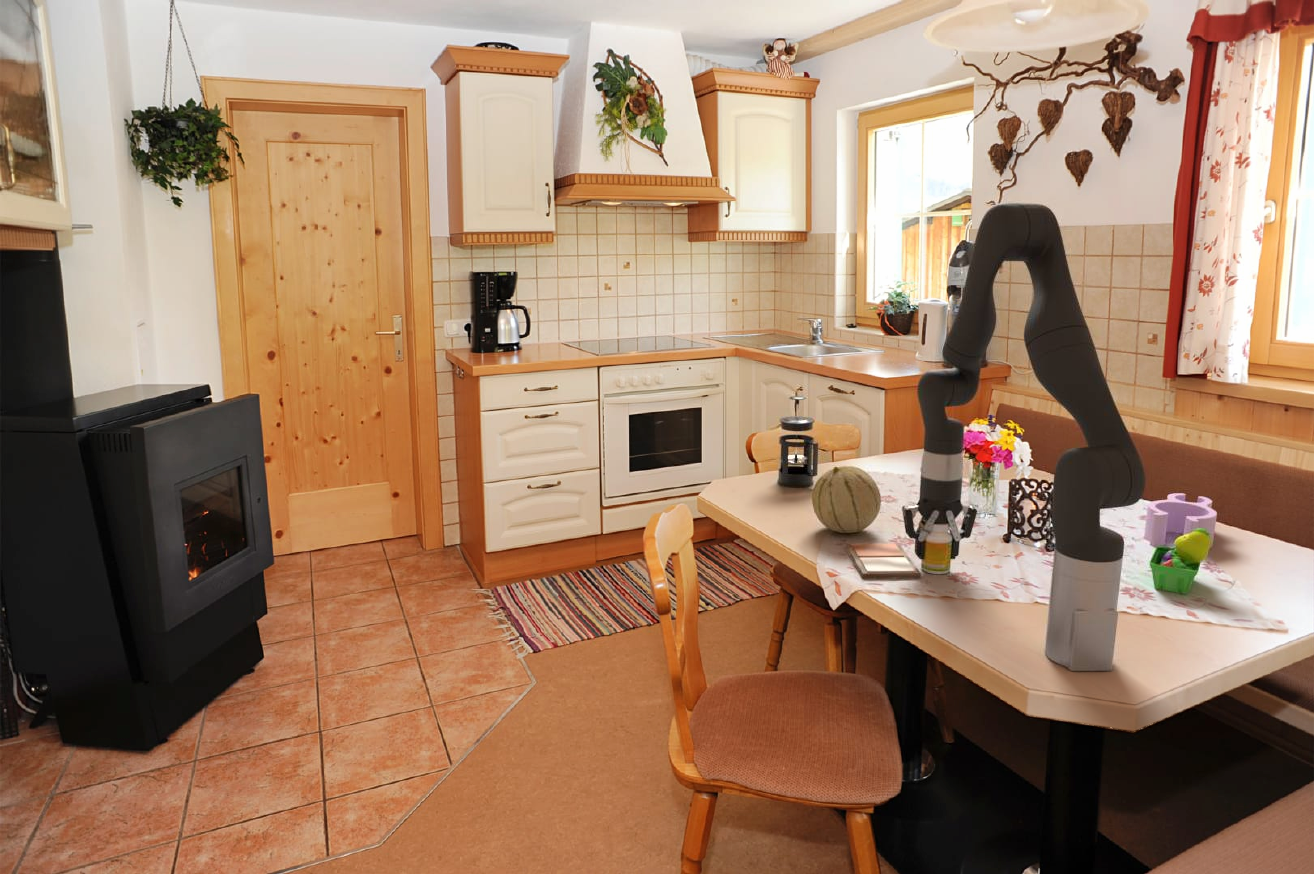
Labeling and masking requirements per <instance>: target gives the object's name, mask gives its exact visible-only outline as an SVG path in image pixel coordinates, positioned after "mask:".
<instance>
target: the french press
mask: <svg viewBox="0 0 1314 874" xmlns="http://www.w3.org/2000/svg"><path fill="white" fill-rule="evenodd" d="M788 399H789V400H793V401H794V400H795V405H796V412H795V413H796V415H794V416H785V417H781V418H780V419H779V422H780V428H781V429H782V430H784V431H788V432H795V434H785V435H781V436H779V438H778V441H779V442H778V443H779V445H780V458H779V460H780V468H779V469H778V476H777V477H778V479H777V484H778V485H780V486H782V487H787V488H796V489H799V488H806V487H811V486H813V485H814V484H815V483H814V477H816V476H818V465H819V464H818V463H819V443H818V441H817V442H816V441H815V437H813V436H810V435H807V434H798V432H807V431H812V430H813V429H814V428H813V425H814V424H813V423H815V419H814V418H811V417H807V416H799V405H800V401H802V400H806V397H805V396H803V395H792V396H789V398H788ZM789 440H795V441H789ZM798 440H800V441H798ZM801 440H802V441H801ZM789 448H795V454H791V455H790V454H789ZM798 448H803V455H800V454H799V455H798Z"/></svg>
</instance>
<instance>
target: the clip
mask: <svg viewBox="0 0 1314 874" xmlns="http://www.w3.org/2000/svg"><path fill="white" fill-rule="evenodd" d="M1166 498H1167V499H1161V500H1153V501H1151V502H1149V503H1147V508H1146V517H1145V524H1144V527H1145V528H1144V532H1143V533H1144V535H1143V536H1144V538H1145V539H1146V540H1148V541H1149V545H1150V547H1151V546H1152V547H1158V546H1161V547H1163V546H1165V545H1166V536H1167V533H1175V534H1176V533H1177V534H1183V535H1186V534H1190V533H1192V532H1193V531H1194V530H1195V529H1198V528H1202V529H1205V530H1207V531H1208V532H1209V533H1210V535H1209V536H1210V538H1211V540H1212V543H1211V545H1210V547H1209V549H1211V548H1212V547H1213V546H1214V539H1215V533H1216V526H1217V525H1216V524H1217V517H1218V516H1217V515H1218V512H1217V511H1216V510H1214V509H1213V508H1212V506H1213V505H1212V504H1213V500H1212V499H1210V498H1208V497H1205V496H1198V497H1197V502H1193V501H1192V502H1191V501H1186V493H1181V492H1180V493H1178V492H1177V493H1170V494H1168V495H1167V497H1166Z"/></svg>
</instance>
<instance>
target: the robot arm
mask: <svg viewBox="0 0 1314 874" xmlns="http://www.w3.org/2000/svg"><path fill="white" fill-rule="evenodd" d="M1004 262H1023V263H1024V264H1025V266H1026V267H1027V270H1028V273H1029V276H1030V280H1031V283H1032V287H1033V289H1032V290H1033V297H1032V301H1031V305H1030V307H1029V310H1028V313H1027V317H1026V320H1025V324H1024V329H1023V341H1024V346H1025V349H1026V352H1027V355H1028V358H1029V362H1030V364H1031V368H1032V371H1033V373H1034V375H1035V377H1036V379H1037V381H1038V382H1039V384H1040V385H1041V386H1042V387H1043V388H1044V389H1045V390H1046V391H1047V392H1048V393H1049V395H1051V397H1053V398H1054V400H1056V401H1057V403H1059V405H1061V407H1063V409H1065V410H1066V411H1067V412H1068V413H1069V414H1070V416H1072V417H1073V419H1074V421H1075V422H1076V423H1077V425H1078V426H1079V428H1080V430H1081V433H1082V434H1083V437H1084V439H1085V441H1086V445H1087V446H1084V447H1075V448H1070V449H1067V450H1066V451H1063V453H1062V454H1061V455H1059V456H1060V457H1059V458H1058V459H1057V462H1056V465H1055V469H1054V473H1053V485H1052V486H1053V488H1052V489H1053V490H1052V514H1051V516H1052V517H1051V520H1052V521H1051V523H1052V529H1053V534H1054V540H1055V541H1054V550H1053V551H1054V553H1053V559H1052V560H1053V561H1052V568H1051V569H1052V571H1051V579H1050V580H1051V581H1050V591H1049V601H1048V612H1047V624H1046V636H1045V644H1044V645H1045V646H1044V653H1045V655H1046V657H1047V658H1048V659H1050V660H1051V661H1053V662H1054V663H1056V664H1058V665H1060V666H1064V667H1066V668H1067V669H1068V670H1069V671H1071V672H1077V671H1078V672H1080V671H1081V672H1082V671H1083V672H1085V671H1086V672H1091V671H1094V672H1096V671H1097V672H1098V671H1100V672H1101V671H1102V672H1103V671H1105V672H1106V671H1113V662H1114V661H1113V660H1114V652H1115V645H1116V636H1117V627H1118V619H1119V612H1118V611H1117V610H1118V601H1119V593H1120V584H1121V576H1122V567H1123V559H1124V551H1125V540H1124V537H1123V536H1122V535H1121V534H1120V533H1118V532H1117V531H1115V530H1113V529H1111V528H1107V527H1104V526H1101V510H1105V509H1117V508H1123V507H1129V506H1132V505H1135V504H1136V503H1138V502H1139V501H1140V500H1141V499H1142V497H1143V495H1144V493H1145V490H1146V481H1147V480H1146V474H1145V469H1144V468H1145V467H1144V465H1143V461H1142V459H1141V456H1140V453H1139V452H1138V450H1137V448H1136V445H1135V443H1134V441H1133V439H1132V437H1131V435H1130V433H1129V431H1128V428H1127V427H1126V425H1125V422H1124V420H1123V418H1122V416H1121V414H1120V411H1119V409H1118V407H1117V405H1116V402H1115V401H1114V398H1113V395H1112V393H1111V390H1110V387H1109V385H1108V382H1107V380H1106V377H1105V374H1104V371H1103V368H1102V366H1101V363H1100V359H1099V356H1098V352H1097V350H1096V347H1095V343H1094V340H1093V337H1092V335H1091V332H1090V329H1089V326H1088V324H1087V322H1086V319H1085V317H1084V313H1083V311H1082V308H1081V305H1080V302H1079V299H1078V295H1077V293H1076V290H1075V285H1074V282H1073V280H1072V277H1071V272H1070V268H1069V263H1068V259H1067V255H1066V250H1065V245H1064V241H1063V237H1062V231H1061V228H1060V225H1059V222H1058V219H1057V217H1056V215H1055V213H1054V212H1053V211H1052V209H1051V208H1049V207H1048V206H1046V205H1044V204H1040V203H1028V202H1027V203H1024V202H1023V203H1022V202H999V203H996V204H994V205H992V206H991V207H990V208H988V210H986V212H985V213H984V216H983V217H982V219H981V222H980V225H979V227H978V229H977V232H976V237H975V241H974V244H973V248H972V252H971V257H970V262H969V265H968V269H967V275H966V277H965V278H966V279H965V282H964V288H963V293H962V295H961V300H960V303H959V306H958V310H957V312H956V315H955V317H954V320H953V322H952V325H951V327H950V329H949V331H948V334H947V336H946V339H945V341H944V345H943V347H942V353H941V354H942V356H943V358H944V360H945V361H946V362H947V363H948V364H950V365H952V366H953V367H952V368H942V369H931V370H927V371H926V372H924V373H923V374H922V376H921V377H920V379H919V381H918V384H917V388H916V391H917V393H916V394H917V399H918V403H919V407H920V411H921V418H922V422H923V427H924V436H923V453H922V458H921V463H920V465H921V466H920V469H919V471H920V480H919V481H920V482H919V484H920V485H919V498H918V499H919V500H918V502H917V503H916V505H911V506H908V505H903V506H902V508H901V510H902V518H903V524H904V529H905V534H906V535H907V536H908V538H910V539H914V554H915V555H916V557H917V558H918V559H919V560H921V559H924V552H925V541H924V539H925V537H926V535H927V533H928V532H929V531H930V530H931V528H932V526H933V524H949V530H948V532H949V533H950V534H951V535H952V548H951V560H955V559H956V557H958V556H959V553H960V542H961V540H962V539H969V538H971V535H972V532H973V529H974V528H973V527H974V524H975V520H976V517H977V513H978V510H977V509H976V507H974V506H973V505H971V504H968V505H964V504H963V503H962V492H963V491H962V489H963V488H962V487H963V476H964V475H963V472H964V457H963V456H964V455H963V453H964V452H963V451H964V441H965V440H964V437H965V436H964V435H965V425H964V424H963V422H962V421H960V420H959V419H956V418H951V417H948V415H947V412H946V408H947V407H948V408H951V407H959V406H960V407H961V406H966V405H967V404H969V403H970V402H971V401H972V400H973V399H974V398H975V397H976V395H977V392H978V390H979V382H980V377H981V376H980V375H981V369H982V360H983V357H984V355H985V353H986V352H987V348H988V347H989V344H990V342H991V340H992V337H993V335H994V332H995V329H996V326H997V310H996V305H995V304H996V303H995V298H994V285H995V284H994V283H995V279H996V277H997V274H998V272H999V271H1000V269H1001V267H1002V265H1003V263H1004ZM917 513H919V514H920V516H921V518H920V519H919V523H918V527H917V529H916V530H915V523H914V518H915V517H916V514H917ZM961 513H962V516H963V519H962V523H961V527H960V529H959V527H958V525H957V521H956V519H957V517H959V515H960V514H961Z"/></svg>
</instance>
